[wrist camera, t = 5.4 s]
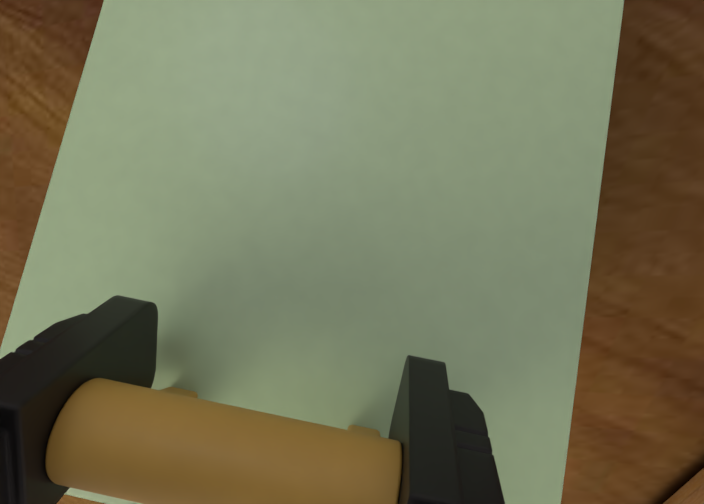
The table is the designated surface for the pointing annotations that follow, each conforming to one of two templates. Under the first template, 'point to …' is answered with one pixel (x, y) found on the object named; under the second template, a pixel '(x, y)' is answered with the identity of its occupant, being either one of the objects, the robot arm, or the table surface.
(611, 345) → the table surface
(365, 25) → the cover
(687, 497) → the tray
